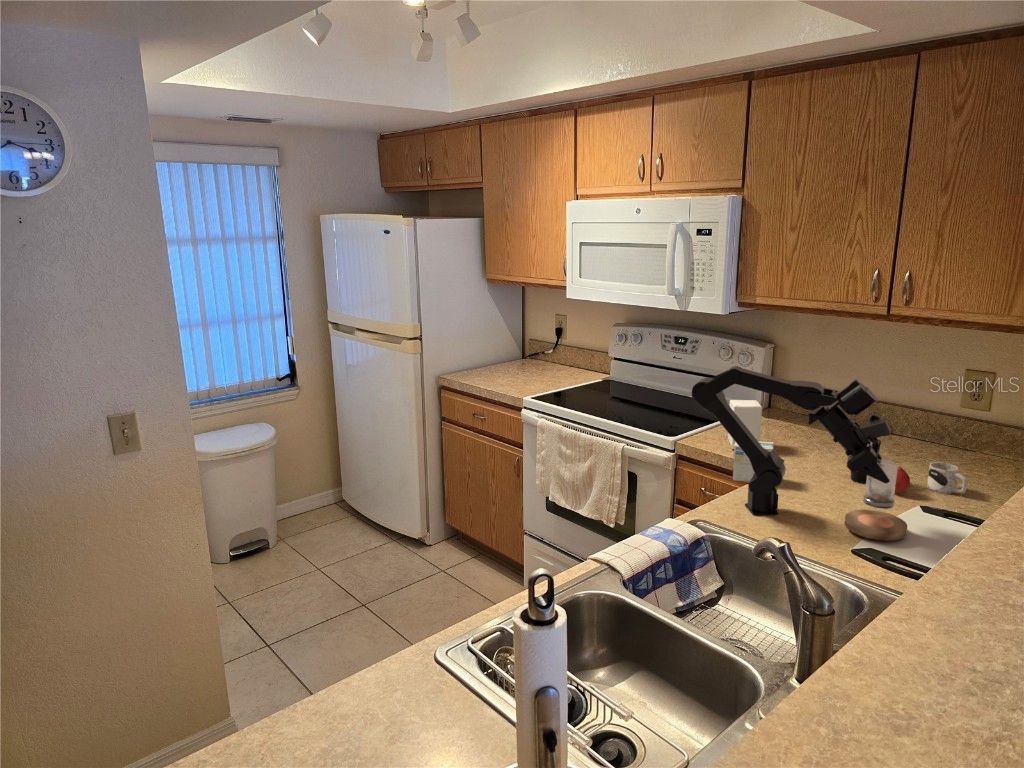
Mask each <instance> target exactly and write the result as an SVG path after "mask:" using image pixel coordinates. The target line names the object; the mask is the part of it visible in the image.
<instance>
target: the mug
mask: <svg viewBox="0 0 1024 768" xmlns="http://www.w3.org/2000/svg"><path fill="white" fill-rule="evenodd" d="M959 469H960V468H959V467H958V466H957V465H955V464H952V463H947V462H939V461H935V462H930V463H929V468H928V475H927V484H926V485H927V486H926V488H927V489H928V490H929V491H931V492H934V493H938V494H942V495H943V494H944V495H952V494H955V493H958V494H965V493H966V491H967V488H968V478H967V477H966V476H964V475H963V474H961V473H959ZM958 479H959V480H961V482H962V485H961V488H958V487H957V484H958Z"/></svg>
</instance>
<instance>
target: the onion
mask: <svg viewBox="0 0 1024 768" xmlns="http://www.w3.org/2000/svg"><path fill="white" fill-rule="evenodd" d="M910 483H911V478H910V475H909V474H908V473H907V472H906V470H905V469H903V467H902V466H901V465H900V464H898V468H897V477H896V485H895V493H894V494H899V493H902V492H904V491H905V490H907V489H908V488H909V486H910Z"/></svg>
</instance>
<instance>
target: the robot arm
mask: <svg viewBox="0 0 1024 768" xmlns="http://www.w3.org/2000/svg"><path fill="white" fill-rule="evenodd" d="M733 385H738V386H742V387H744V388H748V389H752V390H755V391H759V392H763V393H766V394H771V395H774V396H777V397H780V398H783V399H785V400H787V401H789V402H790V403H791V404H793V405H795V406H797V407H800V408H802V409H804V410H807V411H809V412H808V421H807V423H808V425H809V426H810V425H812V424H814V423H815V422H816V421H817V422H818V423H819V424H820V425H821V426H822V427H823V428H824V429H825V430H826V431H827V433H829V435H830V436H831V437H832V441H833V442H834V443H835V444H836V443H837V444H839V445H840V447H842V448H843V450H845V452H844V454H845V455H846V456H847V461H846V468H847V469H849V471H850V473H851V472H852V473H853V472H856V471H858V472H861V473H863V474H866V475H868V476H870V477H872V478H875V479H877V480H879V481H881V482H883V483H888V482H890V480H889V478H888V477H887V475H886V474H885V472H884V471H883V469H882V468H881V466H880V465H879V463H878V462H877V459H883V457H882V455H881V454H880V451H879V452H878V444H879V441H878V440H879V439H878V438H880V437H888V436H890V435H891V427H890V425H889V424H888V420H887V418H886V417H884V416H883V417H882V416H880V415H878V414H877V413H875V414H871V415H870V416H869V421H865V422H864V423H861V424H860V423H859V422H858V421H857V420H852V419H851V418H850V417H849V416H852V415H855V416H859V414H861V413H862V412H864V411H865V410H867V409H868V408H870V407H872V405H874V404H875V403H877V402H878V398H877V397H876V395H875V393H873V392H872V390H871V389H870V388H869V387H867V386H865V385H864V384H863V383H862V382H860V381H859V379H856V378H855V379H853V380H852V381H851V382H850V383H849V384H848V385H847V386H845V387H844V388H843V389H841V390H840V391H839V390H835V389H831V388H826V387H824V386H823V385H822V384H821V383H819V382H815V381H806V380H805V381H804V380H786V379H783V378H780V377H776V376H772V375H769V374H765V373H761V372H757V371H753V370H749V369H746V368H742V367H741V366H738V365H733V366H731V367H730V368H729V369H727V370H725V371H723V372H721V373H718V374H717V375H715V376H713V377H704V378H701V379H700V380H699V381H697V382H696V383H695V384H694V385H693V387H692V389H691V398H692V399H693V400H694V401H695V402H696V403H697V404H698V405H699V406H700V407H701V408H702V409H703V410H705V411H707V412H709V413H710V414H712V415H713V416H714V417H715V418H716V419H717V421H718V422H719V423H720V424H721V426H722V427H723V428H724V429H725V430H726V432H727V434H728V433H729V434H730V435H731V437H732V438H733V439H734V440H735V442H736V443H737V444H738V445H739V447H740V448H741V449H742V450H743V452H744V453H745V454H746V455H747V457H748V458H749V460H750V462H751V465H752V468H753V470H754V472H755V473H754V475H753V477H752V478H751V480H750V482H748V485H747V486H748V487H747V489H748V490H747V491H748V492H747V502H746V503H744V507H746V508H748V509H749V510H750V511H749V512H750V513H751V514H752V516H766V515H769V516H770V515H778V514H779V511H778V508H779V494H778V489H777V487H778V486H780V484H781V483H782V482H783V479H784V478H785V474H786V466H785V464H784V463H785V460H784V459H783V458H782V457H781V456H780V455H779V454H778V452H777V450H776V449H775V448H774V449H773V450H772V451H771V452H769V451H768V450H766V449H764V448H763V447H762V446H761V445H760V443H759V442H758V441H757V440H756V438H755V437H754V436H753V435H752V433H751V432H750V431H749V430H748V429H747V427H746V426H745V425H744V424H743V422H742V421H741V420H740V419H739V417H738V416H737V415H736V414H735V412H734V411H733V410H732V409H731V407H730V404H729V403H728V401H727V399H726V396H725V393H724V390H726V389H728V388H730V387H731V386H733ZM872 439H874V440H876V439H878V440H877V441H876V442H874V443H872V442H871V440H872ZM851 454H852V455H851ZM748 509H747V510H748Z"/></svg>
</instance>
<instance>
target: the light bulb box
mask: <svg viewBox="0 0 1024 768" xmlns="http://www.w3.org/2000/svg"><path fill="white" fill-rule="evenodd" d="M758 442H759V443H760V445H761V446H762V447H763V448H764V449H766V450H768V451H769V452H771V451H772V450H773V449H775V448H774V447H775V446H774V442H773V441H772V442H771V441H761V440H760V441H758ZM732 465H733V468H732V481H738V482H747V483H749V482H750V480H751V478H752V477H753V475H754V473H755V472H754V470H753V468H752V465H751V462H750V460H749V458H748V457H747V455H746V454H745V453H744V452H743V450H742V449H741V448H740V447H739V445H738V444H737V443H736V442H735V445H734V450H733V464H732Z"/></svg>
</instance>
